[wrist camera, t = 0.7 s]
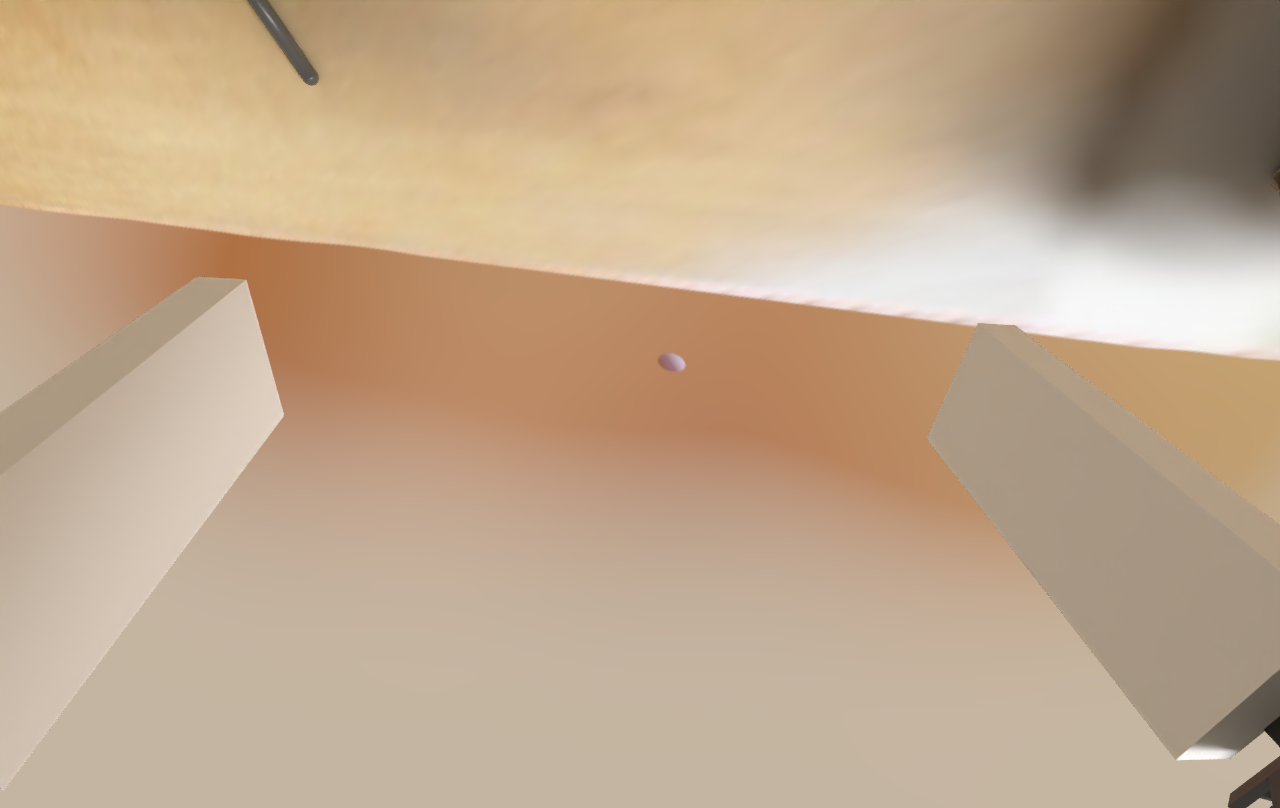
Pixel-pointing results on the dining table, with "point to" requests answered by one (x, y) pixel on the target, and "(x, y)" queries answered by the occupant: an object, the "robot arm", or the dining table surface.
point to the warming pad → (285, 40)
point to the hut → (1276, 180)
